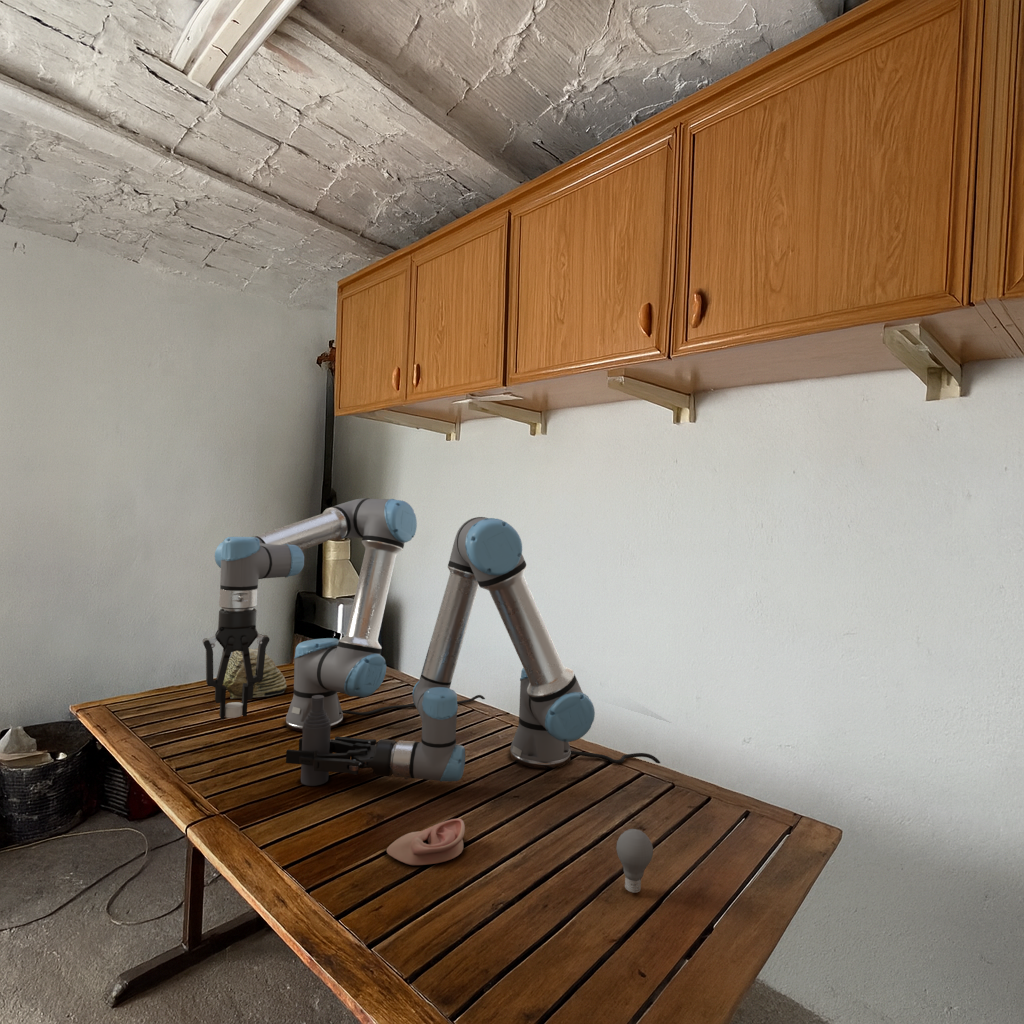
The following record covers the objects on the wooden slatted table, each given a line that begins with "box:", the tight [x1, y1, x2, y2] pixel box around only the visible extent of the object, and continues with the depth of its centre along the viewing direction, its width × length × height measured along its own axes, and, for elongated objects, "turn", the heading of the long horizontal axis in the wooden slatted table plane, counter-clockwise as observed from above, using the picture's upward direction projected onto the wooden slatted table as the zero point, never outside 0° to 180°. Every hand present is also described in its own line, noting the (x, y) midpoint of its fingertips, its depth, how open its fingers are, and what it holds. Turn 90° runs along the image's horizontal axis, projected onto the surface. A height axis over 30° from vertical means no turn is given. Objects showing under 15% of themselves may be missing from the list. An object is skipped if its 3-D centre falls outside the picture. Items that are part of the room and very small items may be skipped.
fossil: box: [223, 647, 288, 699], centre depth 198 cm, size 9×18×15 cm, turn 132°
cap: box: [225, 701, 243, 719], centre depth 137 cm, size 4×4×2 cm
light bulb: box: [615, 828, 654, 894], centre depth 106 cm, size 6×6×10 cm
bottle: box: [300, 695, 331, 787], centre depth 141 cm, size 6×6×19 cm
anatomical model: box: [386, 818, 466, 866], centre depth 115 cm, size 13×4×12 cm
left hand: (233, 715), depth 137 cm, fingers closed on cap, 4 cm apart
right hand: (293, 750), depth 142 cm, fingers closed on bottle, 6 cm apart
